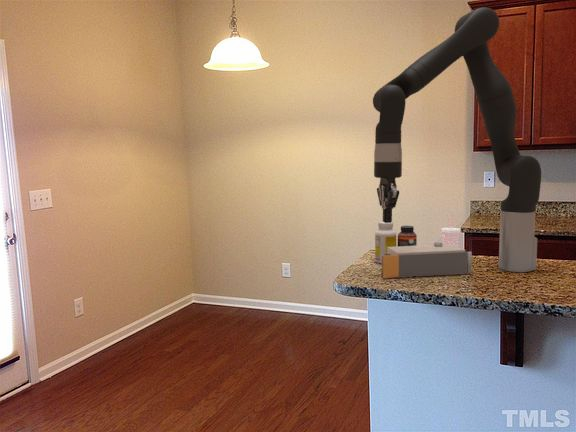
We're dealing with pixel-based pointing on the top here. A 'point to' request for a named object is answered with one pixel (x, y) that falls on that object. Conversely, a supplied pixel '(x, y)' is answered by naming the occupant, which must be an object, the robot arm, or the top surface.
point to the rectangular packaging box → (424, 251)
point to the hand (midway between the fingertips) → (387, 222)
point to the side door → (426, 264)
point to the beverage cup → (450, 234)
